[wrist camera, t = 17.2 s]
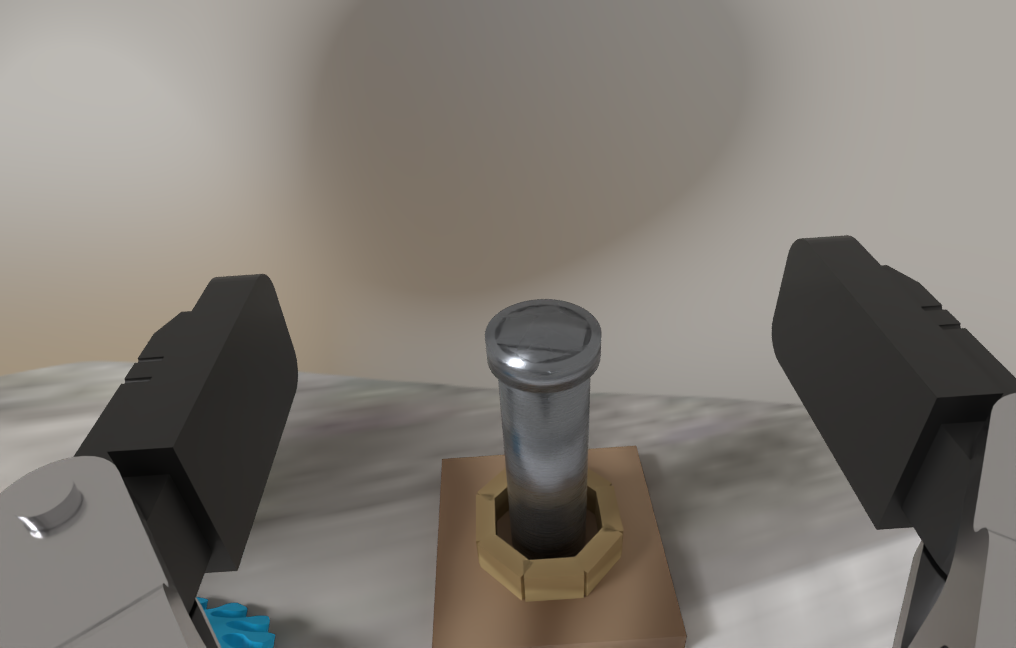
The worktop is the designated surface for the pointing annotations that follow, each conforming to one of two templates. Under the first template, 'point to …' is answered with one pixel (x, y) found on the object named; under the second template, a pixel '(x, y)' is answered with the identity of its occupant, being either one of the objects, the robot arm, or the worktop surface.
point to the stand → (552, 566)
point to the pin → (545, 420)
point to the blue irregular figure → (238, 626)
